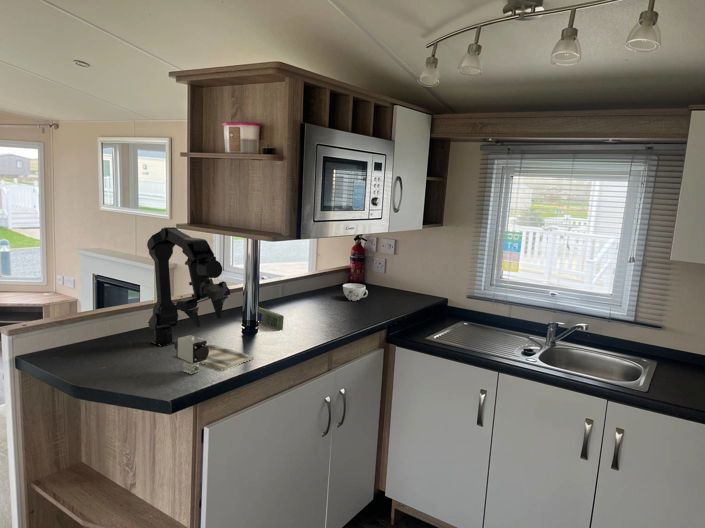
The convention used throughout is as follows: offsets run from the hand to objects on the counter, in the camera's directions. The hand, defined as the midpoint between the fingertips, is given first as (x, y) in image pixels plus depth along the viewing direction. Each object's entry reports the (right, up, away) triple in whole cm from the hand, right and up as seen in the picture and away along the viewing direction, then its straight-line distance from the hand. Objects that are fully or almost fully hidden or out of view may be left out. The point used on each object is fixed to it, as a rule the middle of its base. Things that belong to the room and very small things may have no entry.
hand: (209, 322), depth 169 cm
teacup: (+49, 0, +108) cm, 119 cm away
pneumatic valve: (-3, -15, -8) cm, 17 cm away
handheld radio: (+9, -7, +52) cm, 53 cm away
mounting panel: (0, -13, +6) cm, 14 cm away
